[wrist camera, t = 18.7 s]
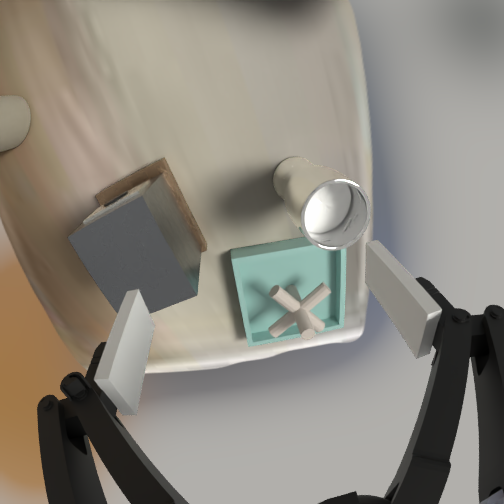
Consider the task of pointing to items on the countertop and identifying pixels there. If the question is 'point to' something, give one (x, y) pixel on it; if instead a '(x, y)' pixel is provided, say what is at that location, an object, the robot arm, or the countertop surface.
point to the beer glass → (322, 203)
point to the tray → (287, 284)
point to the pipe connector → (298, 310)
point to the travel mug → (13, 121)
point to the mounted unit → (142, 240)
